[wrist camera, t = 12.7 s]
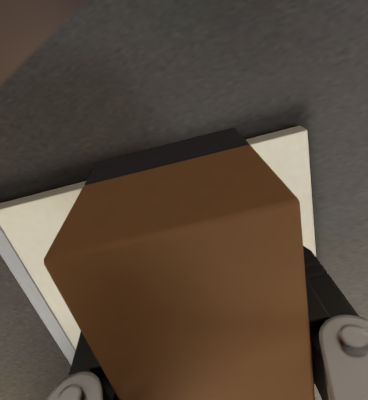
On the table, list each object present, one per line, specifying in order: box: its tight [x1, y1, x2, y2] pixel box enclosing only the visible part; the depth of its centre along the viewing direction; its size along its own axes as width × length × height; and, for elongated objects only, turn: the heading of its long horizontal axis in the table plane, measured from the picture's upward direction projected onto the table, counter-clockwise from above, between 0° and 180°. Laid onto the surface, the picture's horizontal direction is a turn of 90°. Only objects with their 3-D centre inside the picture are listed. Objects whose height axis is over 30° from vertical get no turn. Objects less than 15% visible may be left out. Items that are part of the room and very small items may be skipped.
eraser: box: [44, 128, 315, 400], centre depth 9 cm, size 4×9×4 cm, turn 13°
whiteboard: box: [0, 126, 316, 365], centre depth 23 cm, size 15×21×1 cm
